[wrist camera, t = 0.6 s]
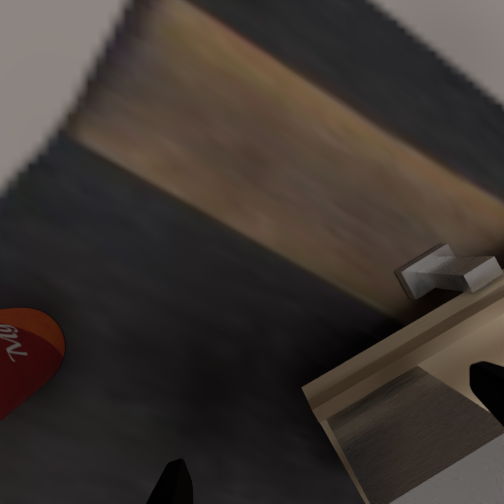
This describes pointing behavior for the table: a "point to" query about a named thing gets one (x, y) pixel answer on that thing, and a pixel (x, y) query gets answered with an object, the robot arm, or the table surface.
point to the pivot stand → (446, 272)
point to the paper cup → (27, 354)
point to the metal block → (422, 444)
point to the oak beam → (418, 356)
